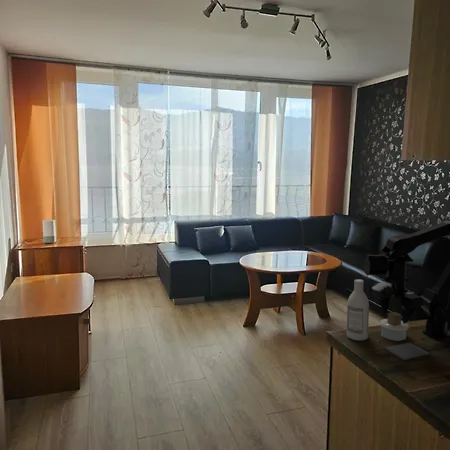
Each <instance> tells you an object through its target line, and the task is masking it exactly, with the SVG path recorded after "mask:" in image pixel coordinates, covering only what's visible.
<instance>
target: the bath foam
mask: <svg viewBox="0 0 450 450" xmlns="http://www.w3.org/2000/svg"><path fill="white" fill-rule="evenodd" d="M353 283H354V284H353V285H354V287H353V291H352V293H351V294H350V295H349V297H348V299H347V306H346V307H347V309H346V311H347V312H346V316H347V317H346V336H347V337H348V338H349V339H351V340H354V341H358V342H359V341H365V340H367V339H368V338H369V319H370V303H369V299H368V296H367V295H366V293H365V291H364V284H365V282H364V280H363V279H359V278H358V279H354V282H353Z"/></svg>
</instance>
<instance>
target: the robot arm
mask: <svg viewBox="0 0 450 450" xmlns="http://www.w3.org/2000/svg"><path fill="white" fill-rule="evenodd" d="M449 235H450V219H447V220H446V219H445V220H444V221H443V222H440V223H437V224H435V225H432V226H430V227H426V228H424V229H420V230H418V231H415V232H413V233H406V234H396V235H392V236H390V237H388V238H387V241H386V244H385V245H384V247H383V248H382V249H381V251H379V252H378V254H366V258H365V259H364V262H363V271H364V274H365V275H366V276H383V275H385V276H384V277H383V280H382V281H380V282H377V283H372V284H371V286H370V287H369V288H370V292H371V293H372V294H373V297H374V298H377V300H378V301H379V304H380V308H381V311H382V314H383V315H386V314H388V309H389V305H390V300H391V297H394V298H397V299H399V300H400V303H401V304H400V305H399V306H400V308H401V309H402V321H403V323H404V324H405V323H407V322H408V321H409V319H410V318H411V316H412V315H413V313H414V312H415V311H416V309H417V308H421V309H423V311H424V313H425V314H426V315H428V316H427V317H426V321H425V329H424V330H422V333H423V334H426V335H427V336H430V337H432V338H434V339H436V340H442V339H446V338H449V337H450V333H448V328H449V327H448V326H449V325H448V324H449V323H450V312H449V310H448V309H447V308H448V306H449V302H450V260H449V261H448V263H447V264H446V266H445V268H444V270H443V272H442V273H441V275H440V276H439V278H438V280H437V282H436V283H435V285H434V286H433V287H432V288H428V287H426V288H424V289H423V293H422V294H421V295H420V296H419V295H417V294H414V293H412V294H411V293H410V294H407V293H409V290H408V289H407V288H406V282H408V281H409V277H407V263H408V262H409V263H411V262H414V259H413V258H412V257H411V256H410V255H409V254H410V253H412V252H413V251H415V250H416V249H417V248H418V247H420V246H422V245H425V244H428V243H430V242H433V241H436V240H439V239H441V238H444V237H447V236H449ZM370 292H369V293H370ZM407 324H408V323H407Z"/></svg>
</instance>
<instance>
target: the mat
mask: <svg viewBox="0 0 450 450" xmlns="http://www.w3.org/2000/svg"><path fill="white" fill-rule="evenodd" d="M384 350H385V351H387V352H388V353H390V354H392V355H394V356H395V357H397V358H399V359H401V360H403V361H408V360H412V359H417V358H419V357H420V358H421V357H425V356H428V355H429V356H430V352H428V351H426V350H424V349H423V348H421V347H419V346H417V345H414V344H413V343H411V342H406V343H405V342H404V343H401V344H396V345H392V346H388V347H386V346H385V347H384Z"/></svg>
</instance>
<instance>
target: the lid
mask: <svg viewBox="0 0 450 450" xmlns="http://www.w3.org/2000/svg"><path fill="white" fill-rule="evenodd" d="M379 326H380V328H381V327H382V328H384V329H387V330H391V331H406V332H407V331H408V330H409V324H408V323H405V324H404V323H403V320H402V314H400V313H398V312H396V311H391V312H387V318H384V319H381V320H380V321H379Z"/></svg>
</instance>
